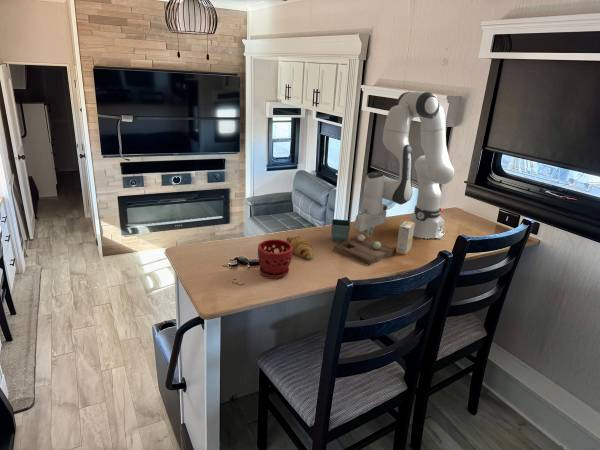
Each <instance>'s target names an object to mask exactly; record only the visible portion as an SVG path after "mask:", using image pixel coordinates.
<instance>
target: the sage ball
mask: <svg viewBox="0 0 600 450" xmlns="http://www.w3.org/2000/svg"><path fill="white" fill-rule="evenodd" d="M374 242H375V243H374V244H373V247H374V248H375V249H380V248H381V245H382V244H381V242H379V241H374Z"/></svg>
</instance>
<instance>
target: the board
mask: <svg viewBox="0 0 600 450" xmlns="http://www.w3.org/2000/svg"><path fill="white" fill-rule="evenodd" d="M358 236H359V235H357V236H354V237H351V238H349V239H347V240H346V241H343V242H338V243H336V244H333V245H332V252H335V253H338V254H341V255H343V256H345V257H347V258H350V259H352V260H355V261H357V262H360V263H362V264H365V265H367V266H368V267H369V266H371V265H374V264H376V263H378V262H380V261H382V260H384V259H386V258H389V257H390V256H393V255H394V252H395V249H394V248H391V247H389V246H387V245H384V244H381V248H380V249H375V248H374V247H373V244H374V243H375V242H376V241H373V240H370V239H367V238H365V240H364V241H359V240H358Z"/></svg>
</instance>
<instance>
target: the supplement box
mask: <svg viewBox="0 0 600 450" xmlns="http://www.w3.org/2000/svg"><path fill="white" fill-rule="evenodd" d="M414 226H415V223H413V222H410V221H408V220H404V221H403V222H402V223H401V224H400V225H399V228H398V236H397V244H396V251H395V253H396V254H401V255H404V256H406V255H407V254H409V252H410V251H411V249H412V245H413V238H414V236H413V233H414Z"/></svg>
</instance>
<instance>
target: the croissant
mask: <svg viewBox="0 0 600 450" xmlns="http://www.w3.org/2000/svg"><path fill="white" fill-rule="evenodd" d="M286 242H288V243H290V244H291V245H292V255H295V256H297V257H300V258H305V260H312V259H314V250H313V246H312V245H311V244H310V242H309V240H308V239H306V238H305V237H303V236H300V235H299V236H295V237H286Z"/></svg>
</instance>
